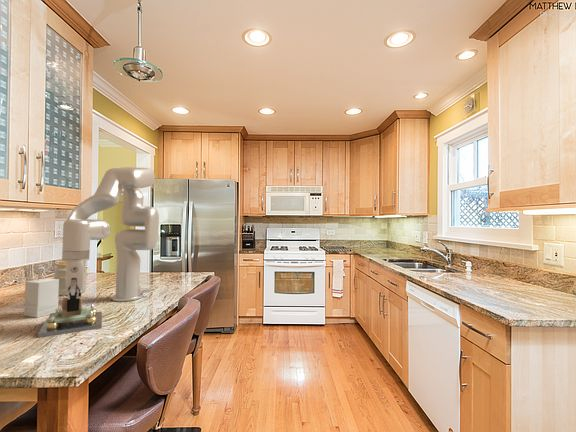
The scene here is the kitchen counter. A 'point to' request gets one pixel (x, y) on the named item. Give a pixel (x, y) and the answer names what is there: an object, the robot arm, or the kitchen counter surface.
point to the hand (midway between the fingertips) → (74, 307)
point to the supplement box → (41, 297)
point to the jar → (63, 278)
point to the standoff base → (71, 324)
